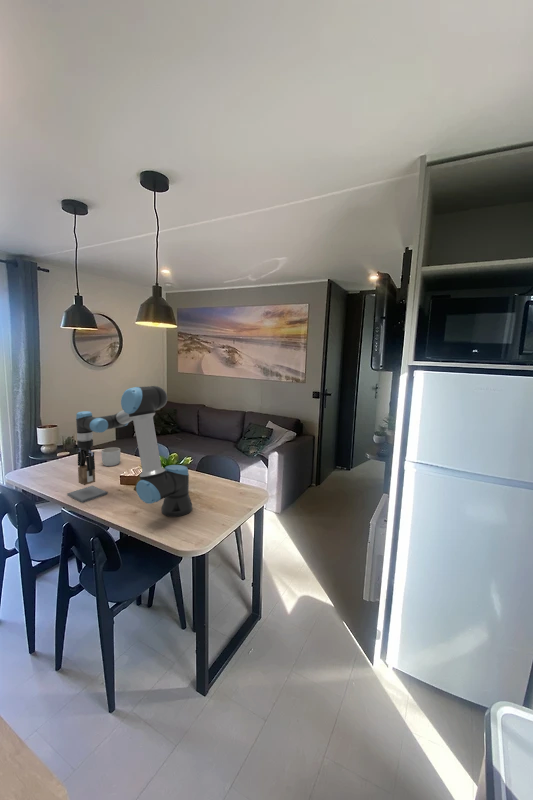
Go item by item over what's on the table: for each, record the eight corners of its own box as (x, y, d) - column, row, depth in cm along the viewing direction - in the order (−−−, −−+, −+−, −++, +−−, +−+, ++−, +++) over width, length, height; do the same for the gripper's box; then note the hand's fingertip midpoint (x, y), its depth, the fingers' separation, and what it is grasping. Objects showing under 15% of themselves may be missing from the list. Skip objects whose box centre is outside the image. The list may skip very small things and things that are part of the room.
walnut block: (95, 481, 180) (94, 466, 179) (84, 485, 175) (83, 469, 174) (89, 479, 183) (88, 464, 182) (78, 482, 178) (77, 467, 177)
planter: (97, 466, 226) (97, 451, 225) (109, 461, 238) (108, 446, 237) (113, 467, 224) (113, 452, 223) (124, 462, 236) (124, 448, 235)
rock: (136, 489, 184) (153, 482, 190) (130, 475, 186) (147, 469, 192) (132, 494, 191) (148, 488, 198) (126, 482, 193) (142, 475, 200)
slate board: (107, 494, 181) (107, 491, 181) (82, 503, 170) (82, 500, 169) (92, 487, 190) (92, 485, 190) (67, 495, 178) (67, 493, 178)
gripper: (101, 441, 174) (102, 481, 177) (83, 435, 184) (84, 474, 187) (87, 443, 168) (89, 486, 170) (69, 438, 178) (71, 478, 181)
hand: (86, 479), depth 179 cm, fingers closed on walnut block, 6 cm apart
